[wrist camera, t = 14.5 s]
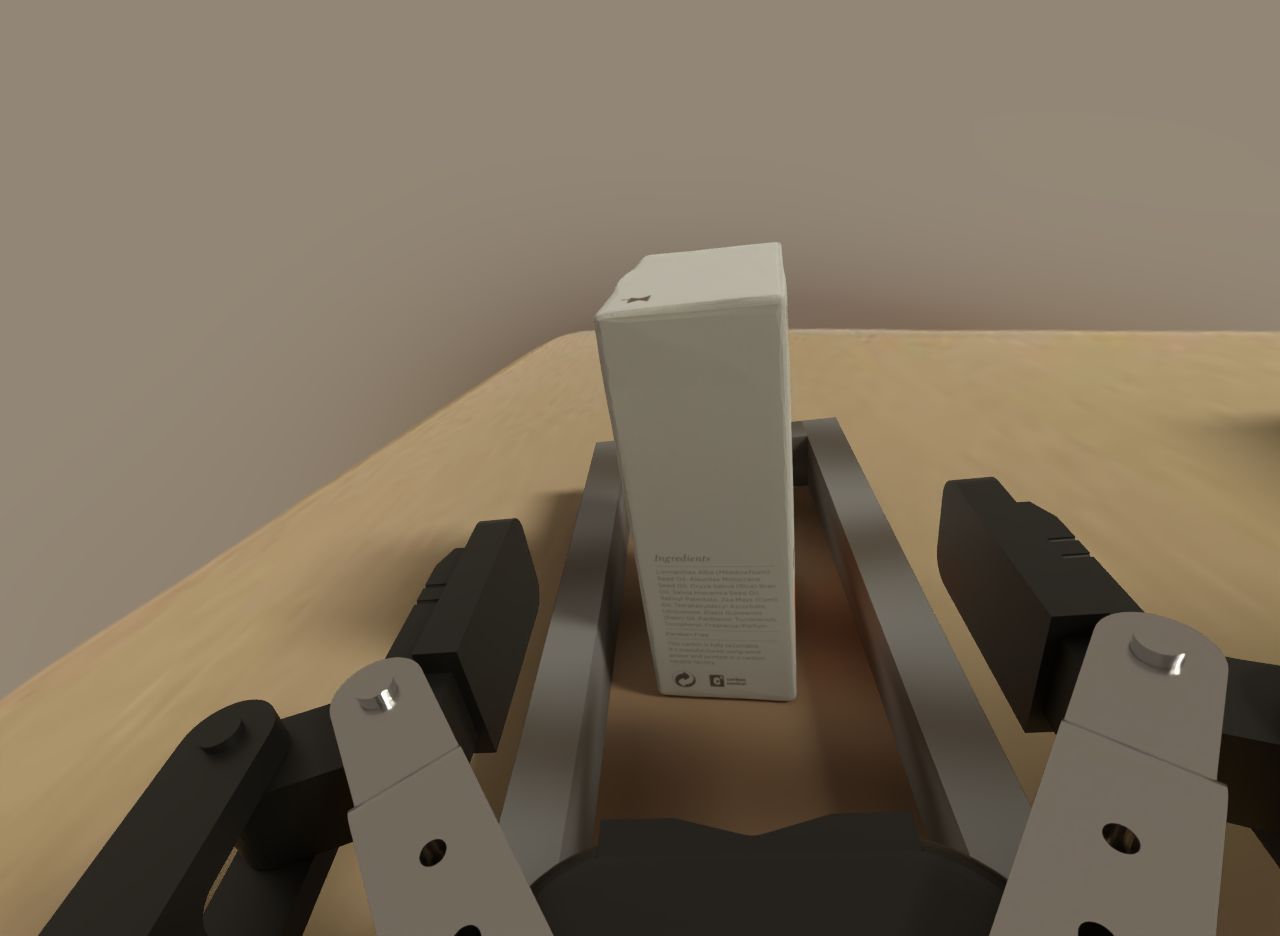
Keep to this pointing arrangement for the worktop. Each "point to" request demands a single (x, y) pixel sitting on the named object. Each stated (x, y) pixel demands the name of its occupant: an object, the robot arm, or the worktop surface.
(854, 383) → the worktop surface
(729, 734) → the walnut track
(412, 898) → the robot arm
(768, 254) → the skincare box
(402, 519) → the worktop surface
